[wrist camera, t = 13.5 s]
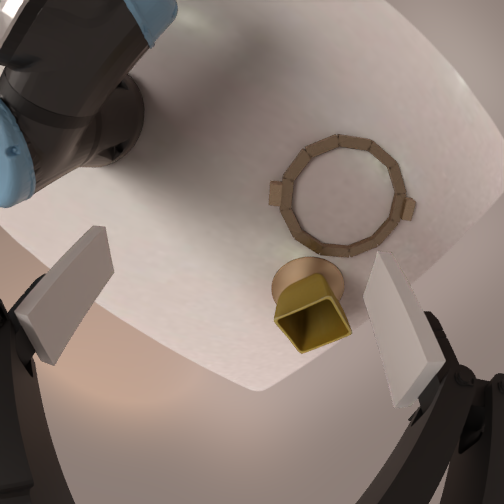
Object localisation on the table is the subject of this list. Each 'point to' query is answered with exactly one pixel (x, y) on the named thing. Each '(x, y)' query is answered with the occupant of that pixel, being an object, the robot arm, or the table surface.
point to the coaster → (303, 269)
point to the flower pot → (311, 314)
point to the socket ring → (284, 189)
